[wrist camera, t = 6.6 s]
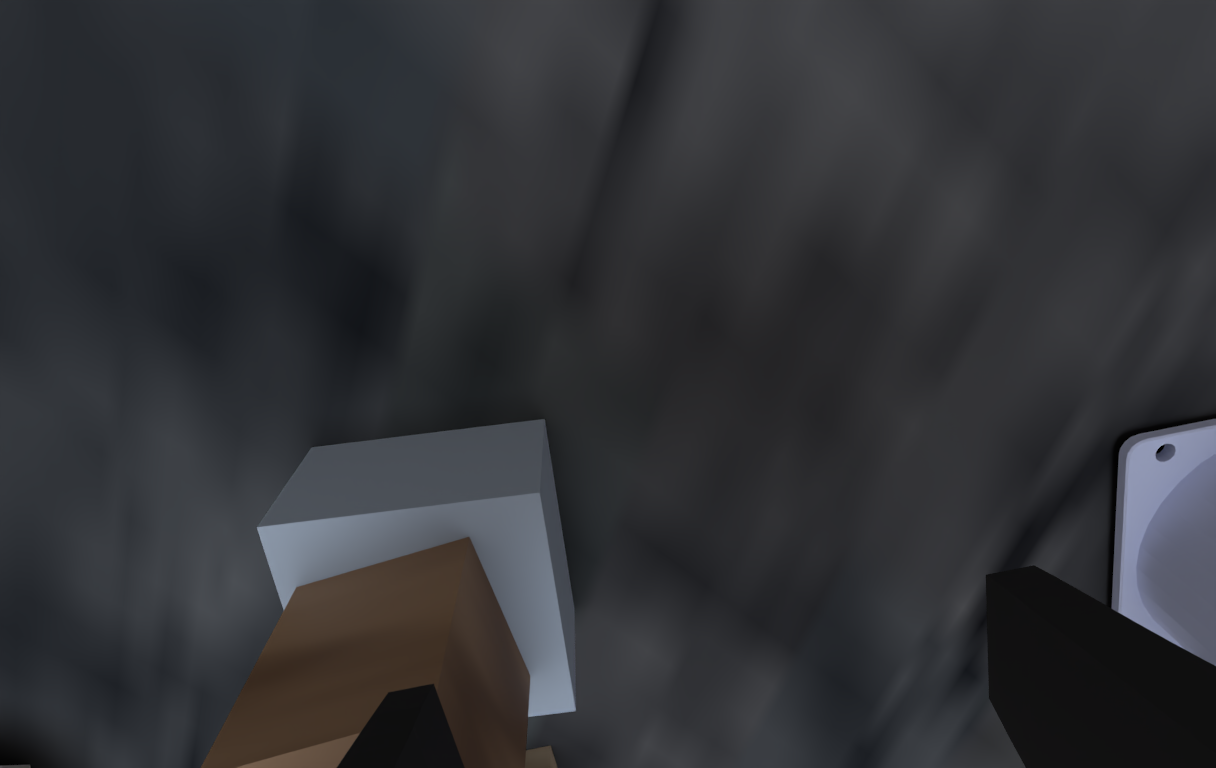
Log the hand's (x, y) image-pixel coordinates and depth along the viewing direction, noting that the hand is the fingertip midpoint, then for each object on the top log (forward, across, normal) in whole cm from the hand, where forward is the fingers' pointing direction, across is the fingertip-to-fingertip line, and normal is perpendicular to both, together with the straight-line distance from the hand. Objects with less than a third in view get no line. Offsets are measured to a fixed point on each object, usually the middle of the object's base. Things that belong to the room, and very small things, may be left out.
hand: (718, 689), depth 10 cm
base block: (+11, +6, +3) cm, 13 cm away
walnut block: (+7, +6, +3) cm, 10 cm away
